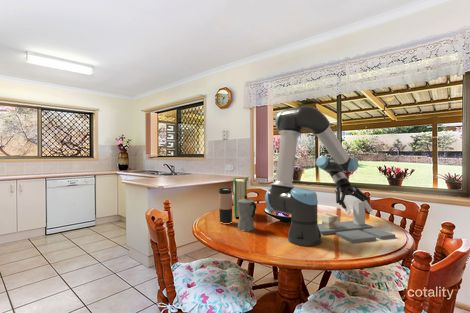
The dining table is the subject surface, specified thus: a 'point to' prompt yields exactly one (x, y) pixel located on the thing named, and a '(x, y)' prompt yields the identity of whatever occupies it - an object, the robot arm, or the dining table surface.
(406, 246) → the dining table surface
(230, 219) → the travel mug
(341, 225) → the grey angled piece
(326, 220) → the birch cube
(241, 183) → the hardback book
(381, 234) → the broken strip
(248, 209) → the coffeepot
